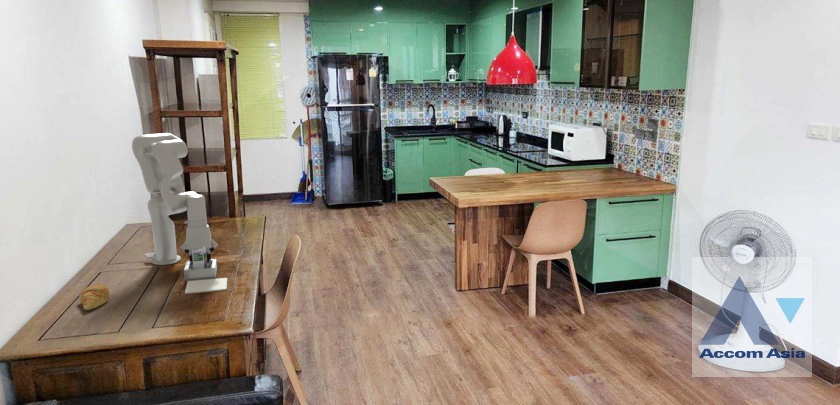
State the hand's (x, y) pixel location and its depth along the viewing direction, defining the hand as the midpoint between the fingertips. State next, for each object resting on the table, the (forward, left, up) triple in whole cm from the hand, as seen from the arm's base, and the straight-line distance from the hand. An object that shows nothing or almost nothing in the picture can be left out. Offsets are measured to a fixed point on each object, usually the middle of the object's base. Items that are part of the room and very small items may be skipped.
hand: (200, 262), depth 246 cm
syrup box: (0, 0, -6) cm, 6 cm away
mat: (+3, -14, -6) cm, 16 cm away
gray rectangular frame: (0, +3, -6) cm, 7 cm away
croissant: (-38, -20, -7) cm, 43 cm away
